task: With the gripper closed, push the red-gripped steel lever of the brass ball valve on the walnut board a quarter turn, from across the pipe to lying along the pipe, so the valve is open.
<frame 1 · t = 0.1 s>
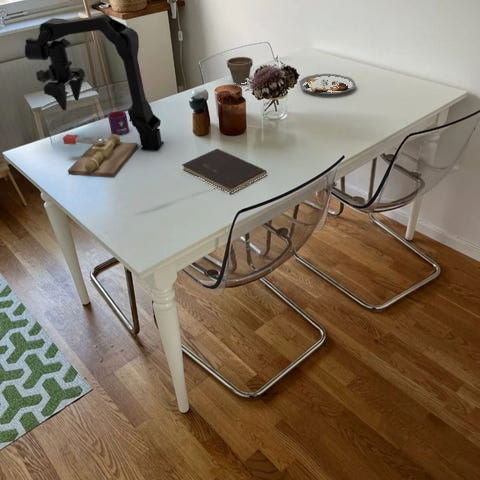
hand: (70, 105, 180), 14 cm above the table, tool pointing down, fingers open, 9 cm apart
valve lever: (84, 140, 174), point 7 cm above the table, hinge at 0.0°
valve board: (104, 160, 177), on the table
mug: (118, 130, 197), on the table
food plate: (326, 88, 223), on the table
hardcover book: (224, 173, 167), on the table, touching butter knife
butter knife: (177, 202, 154), on the table, touching hardcover book
flower pot: (240, 83, 232), on the table
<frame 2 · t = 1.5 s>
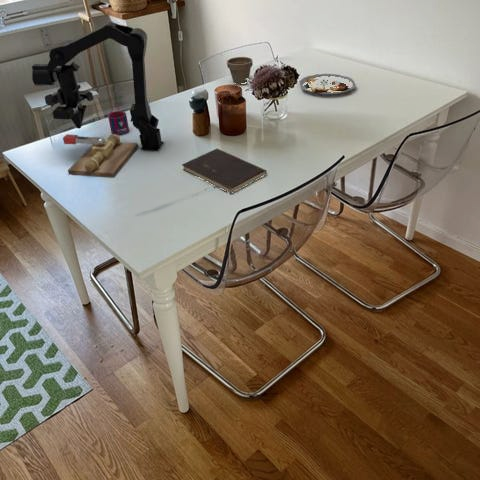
hand: (79, 128, 179), 8 cm above the table, tool pointing down, fingers closed
hardcover book: (224, 173, 167), on the table
butter knife: (178, 203, 154), on the table
everything else where it was.
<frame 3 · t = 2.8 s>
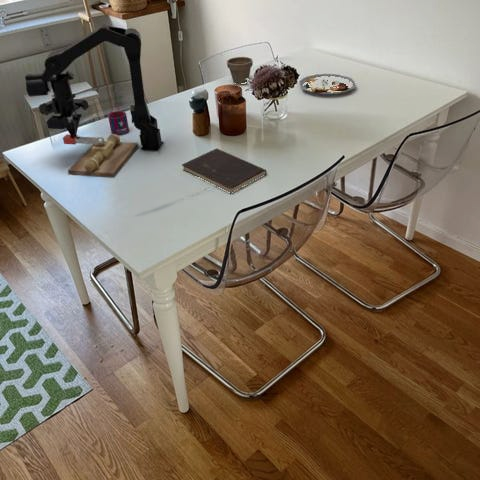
hand: (74, 137, 177), 7 cm above the table, tool pointing down, fingers closed
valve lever: (84, 140, 174), point 7 cm above the table, hinge at 0.2°, touching gripper
everything else where it was.
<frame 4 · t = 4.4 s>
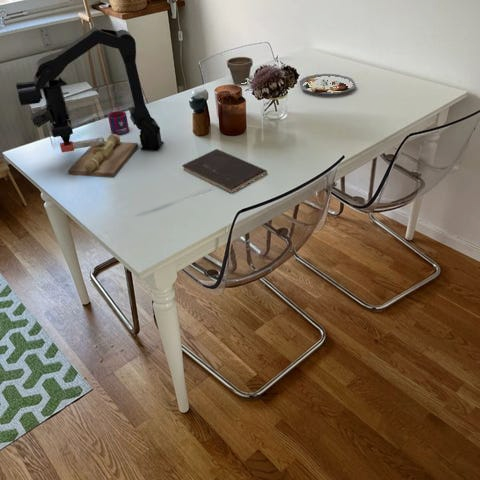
hand: (67, 144, 172), 7 cm above the table, tool pointing down, fingers closed
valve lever: (82, 144, 171), point 7 cm above the table, hinge at 29.3°, touching gripper
everything else where it was.
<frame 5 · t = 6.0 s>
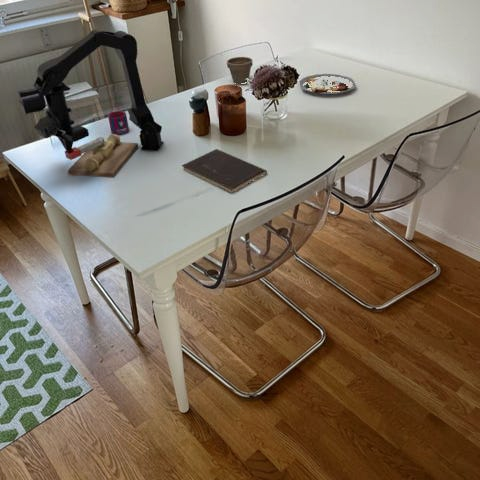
hand: (69, 152, 168), 7 cm above the table, tool pointing down, fingers closed
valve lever: (86, 147, 169), point 7 cm above the table, hinge at 61.4°, touching gripper
everything else where it was.
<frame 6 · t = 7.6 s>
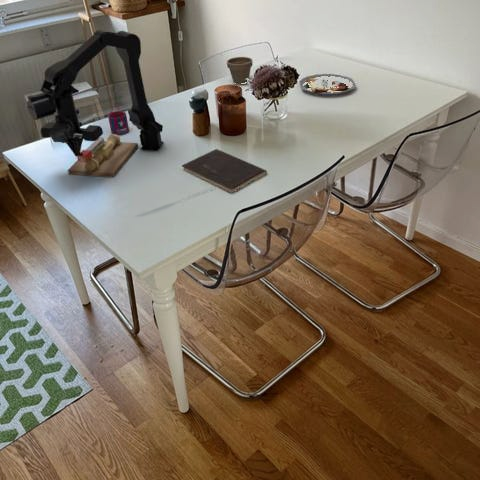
hand: (77, 156, 165), 7 cm above the table, tool pointing down, fingers closed
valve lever: (92, 149, 168), point 7 cm above the table, hinge at 87.0°
everything else where it was.
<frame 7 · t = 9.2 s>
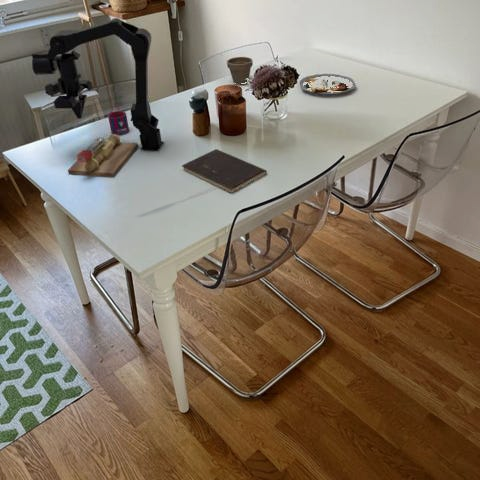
hand: (79, 118, 177), 12 cm above the table, tool pointing down, fingers closed
nothing on the table moved.
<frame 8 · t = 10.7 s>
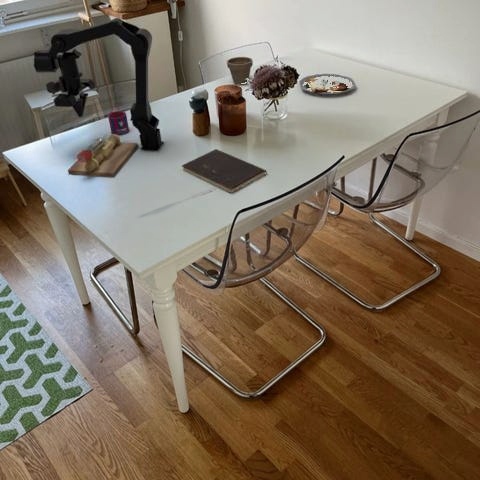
hand: (80, 116, 178), 12 cm above the table, tool pointing down, fingers closed
nothing on the table moved.
at the end: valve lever at +87° (first picture: +0°); mug moved 0.3 cm from its start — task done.
